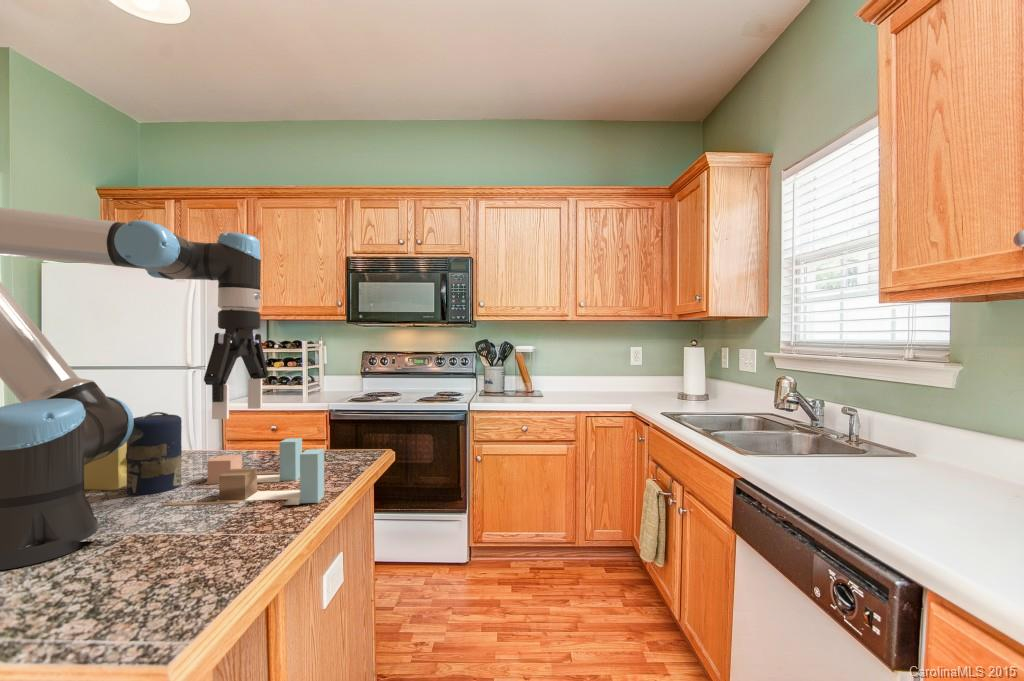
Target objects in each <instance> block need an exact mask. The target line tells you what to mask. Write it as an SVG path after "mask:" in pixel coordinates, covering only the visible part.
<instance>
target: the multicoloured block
mask: <svg viewBox="0 0 1024 681" xmlns="http://www.w3.org/2000/svg"><path fill="white" fill-rule="evenodd" d="M324 497H325V449H324V448H321V449H320V448H319V449H306V450H305V451H302V453H301V454H300V477H299V489H294V490H293V489H290V490H257V492H256V493H255V494H253V495H252V496H250V497H249V498H247V499H246V500H225V501H240V502H242V501H272V500H273V501H275V500H276V501H277V500H286V501H285V502H284V503H282V504H281V506H293V505H294V506H296V505H297V506H298V505H300V504H310V503H311V504H317V503H319V502H321V501H322V499H323V498H324ZM216 501H219V499H216Z"/></svg>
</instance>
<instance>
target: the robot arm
mask: <svg viewBox="0 0 1024 681" xmlns="http://www.w3.org/2000/svg"><path fill="white" fill-rule="evenodd" d="M217 238H218V239H217V242H201V241H200V242H198V241H189V240H186V238H185V239H184V238H183V237H182V236H180V235H177V234H175V233H174V232H172V231H171V230H170V229H168V227H165V226H163V225H161V224H159V223H156V222H152V221H148V220H143V219H142V220H141V219H140V220H139V219H138V220H133V221H132V220H131V221H129V222H121V221H117V220H116V221H115V220H107V219H97V218H92V217H91V218H90V217H81V216H75V215H74V216H73V215H66V214H58V213H57V214H56V213H48V212H41V211H40V212H39V211H32V210H24V209H15V208H6V207H0V256H6V257H15V258H25V259H39V260H49V261H60V262H70V263H71V262H72V263H80V264H81V263H82V264H91V265H104V266H114V267H115V266H116V267H122V268H131V269H141V270H142V269H143V270H145V271H146V272H147V274H148V275H149V276H150V277H153V278H156V279H165V280H169V281H170V280H201V281H217V282H218V285H217V287H218V288H217V289H218V291H217V292H218V293H217V307H218V308H219V309H220V310H219V311H218V312H217V328H219V329H220V330H225V331H224V332H215V333H214V337H213V338H214V339H213V346H212V350H211V354H210V356H209V360H208V362H207V367H206V370H205V374H204V377H203V381H204V383H205V385H206V386H208V385H209V386H211V420H227V419H228V420H229V418H230V384H227V383H228V380H229V378H230V375H231V373H232V371H233V368H234V366H235V364H236V361H237V360H238V358H241V359H242V361H243V363H244V366H245V368H246V370H247V372H248V374H249V377H250V378H248V379H247V409H251V410H252V409H256V410H258V409H260V410H261V409H262V408H263V379H267V378H268V366H267V362H266V358H265V355H264V350H263V346H262V334H260V333H254V332H253V331H254V330H259V329H261V313H260V312H259V311H258V310H259V309H261V299H262V298H263V295H262V294H261V273H262V272H261V267H262V257H261V256H262V255H261V244H260V240H259V239H258V238H257V237H255V236H254V235H250V234H247V233H241V232H222V233H220V234H219V236H218V237H217ZM0 380H1V381H2V382H3V383H4V384H5V385H6V386H7V388H8V389H9V390H10V391H11V392H12V394H13V395H14V396H15V397H16V398H17V400H18V401H19V402H15V403H10V404H6V405H2V406H0V571H4V570H10V569H11V570H12V569H17V568H20V567H26V566H30V565H35V564H39V563H43V562H46V561H50V560H53V559H56V558H60V557H63V556H65V555H68V554H70V553H73V552H75V551H78V550H80V549H83V548H85V547H86V546H88V545H90V544H91V543H93V542H94V541H93V540H88V541H87V540H86V539H88V538H90V537H91V536H93V535H94V534H96V533H97V532H98V530H99V529H100V528H99V526H100V523H99V520H98V518H97V517H95V515H94V511H93V509H92V506H91V504H90V502H89V499H88V498H87V495H86V492H85V490H86V489H84V465H86V464H88V463H90V462H92V461H94V460H97V459H102V458H104V457H106V456H108V455H109V454H111V453H113V452H114V451H116V450H117V449H119V448H120V447H121V446H122V445H123V444H124V443H125V442H126V441H127V440H128V439H129V437H130V435H131V433H132V430H133V426H134V420H133V418H134V415H133V412H132V411H131V409H130V407H129V406H128V405H127V404H126V403H124V401H122V400H120V399H118V398H115V397H112V396H107V395H106V394H105V393H104V392H103V390H102V389H101V388H100V386H99V385H97V383H96V382H95V381H94V380H93V379H85V378H81V377H79V376H78V375H77V373H76V372H75V371H74V370H73V369H72V368H71V366H70V365H69V364H68V363H67V362H66V361H65V359H64V358H63V357H62V355H61V354H60V353H59V352H58V350H57V349H56V348H55V347H54V345H53V344H52V343H51V342H50V341H49V339H48V338H47V337H46V336H45V335H44V333H43V332H42V330H40V329H39V327H38V326H37V325H36V324H35V322H34V321H33V320H32V318H30V316H29V315H28V314H27V313H26V311H25V310H24V308H22V307H21V305H20V304H19V303H18V301H17V300H16V299H15V298H14V296H12V294H11V293H10V292H9V290H8V289H7V288H6V287H5V286H4V285H3V283H2V282H1V281H0ZM85 540H86V541H85Z"/></svg>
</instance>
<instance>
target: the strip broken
mask: <svg viewBox="0 0 1024 681" xmlns="http://www.w3.org/2000/svg"><path fill="white" fill-rule="evenodd" d="M301 453H303V437H298V438H297V437H295V438H292V437H291V438H288V437H287V438H285V439H282V440H281V441H279V472H280V474H266V475H257V483H279V482H282V481H283V482H287V481H288V482H289V481H298V479H300V454H301ZM212 484H213V485H214V484H218V485H219V483H207V482H204V485H212Z"/></svg>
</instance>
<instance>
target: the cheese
mask: <svg viewBox="0 0 1024 681" xmlns="http://www.w3.org/2000/svg"><path fill="white" fill-rule="evenodd" d="M126 451H127V441H126V442H125V443H124V444H123V445H122V446H121V447H120V448H119V449H117V450H116V451H114V452H113V453H111V454H109V455H108V456H106V457H104V458H102V459H97V460H94V461H92V462H90V463H88V464H86V465H84V489H85V490H91V491H92V490H93V491H94V490H95V491H101V490H103V491H115V490H118V489H120V488H123V487H125V486H127V472H126V471H127V459H126Z"/></svg>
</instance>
